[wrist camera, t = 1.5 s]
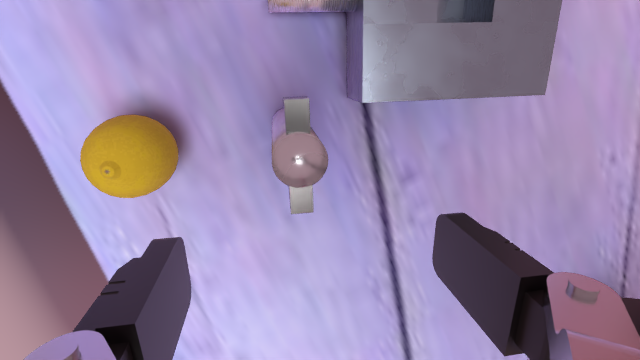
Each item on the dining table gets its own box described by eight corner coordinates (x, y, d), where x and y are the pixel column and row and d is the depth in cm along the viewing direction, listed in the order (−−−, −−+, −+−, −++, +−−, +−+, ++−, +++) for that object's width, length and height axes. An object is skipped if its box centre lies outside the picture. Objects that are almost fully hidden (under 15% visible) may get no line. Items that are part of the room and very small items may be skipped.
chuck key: (303, 86, 27) (326, 98, 16) (306, 157, 29) (329, 214, 18) (268, 87, 27) (267, 101, 15) (274, 159, 29) (276, 218, 17)
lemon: (179, 104, 26) (142, 118, 19) (196, 170, 28) (168, 207, 20) (106, 113, 26) (37, 132, 18) (128, 181, 27) (74, 222, 20)
